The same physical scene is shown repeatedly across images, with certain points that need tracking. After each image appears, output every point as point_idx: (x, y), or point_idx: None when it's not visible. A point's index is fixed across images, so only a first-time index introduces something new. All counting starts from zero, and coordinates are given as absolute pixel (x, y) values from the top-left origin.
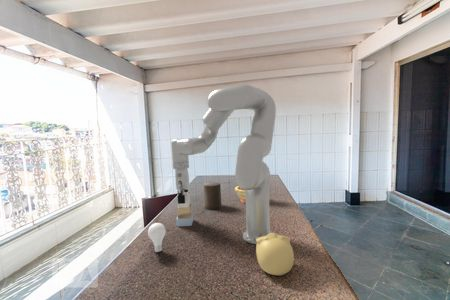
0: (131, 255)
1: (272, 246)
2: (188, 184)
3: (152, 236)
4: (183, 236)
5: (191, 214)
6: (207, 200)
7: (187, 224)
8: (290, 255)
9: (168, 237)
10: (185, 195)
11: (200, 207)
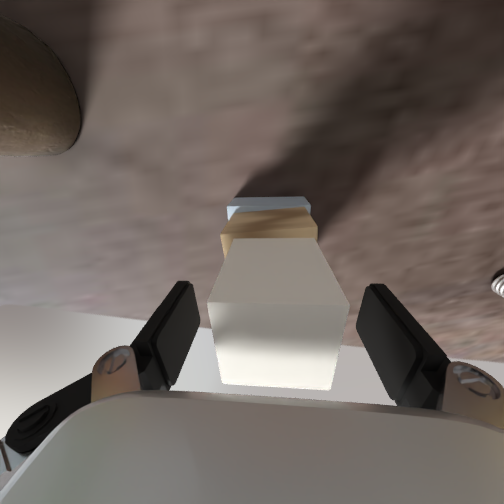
0: (475, 339)
1: None
2: (242, 483)
3: None
4: (411, 214)
5: (253, 210)
6: (17, 122)
7: None
8: None
9: (394, 269)
10: (343, 325)
11: (65, 183)
